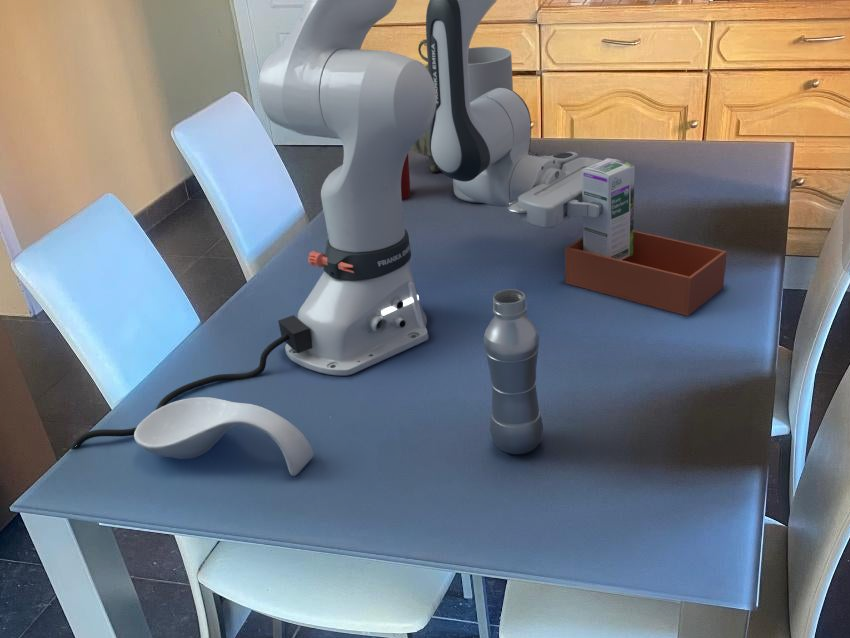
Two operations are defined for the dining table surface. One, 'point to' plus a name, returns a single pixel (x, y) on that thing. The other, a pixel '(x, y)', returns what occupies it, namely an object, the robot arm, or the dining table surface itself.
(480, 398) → the dining table surface
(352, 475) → the dining table surface
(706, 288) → the bin
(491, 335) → the plastic bottle
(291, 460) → the spoon rest
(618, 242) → the syrup box
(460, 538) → the dining table surface
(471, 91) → the cylinder vase
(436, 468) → the dining table surface
